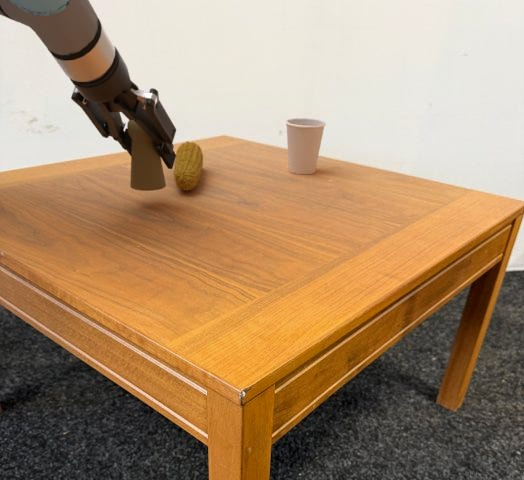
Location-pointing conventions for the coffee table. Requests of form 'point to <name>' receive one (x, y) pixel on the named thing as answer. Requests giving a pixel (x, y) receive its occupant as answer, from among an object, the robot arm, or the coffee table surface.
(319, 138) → the dixie cup
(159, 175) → the cork
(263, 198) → the coffee table surface
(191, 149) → the food
